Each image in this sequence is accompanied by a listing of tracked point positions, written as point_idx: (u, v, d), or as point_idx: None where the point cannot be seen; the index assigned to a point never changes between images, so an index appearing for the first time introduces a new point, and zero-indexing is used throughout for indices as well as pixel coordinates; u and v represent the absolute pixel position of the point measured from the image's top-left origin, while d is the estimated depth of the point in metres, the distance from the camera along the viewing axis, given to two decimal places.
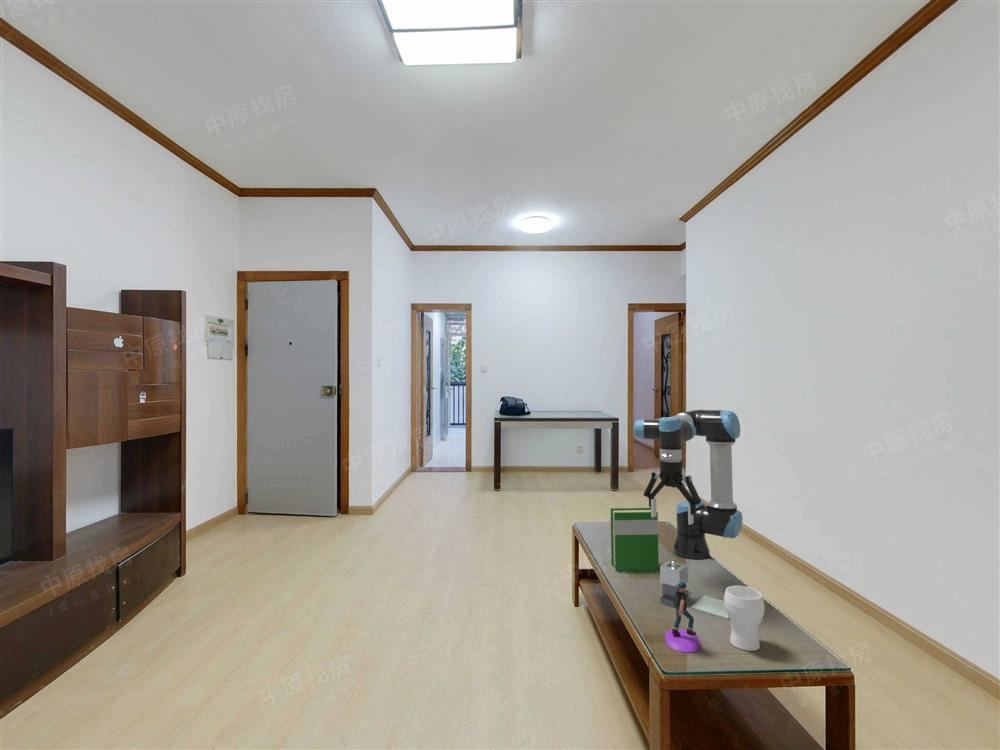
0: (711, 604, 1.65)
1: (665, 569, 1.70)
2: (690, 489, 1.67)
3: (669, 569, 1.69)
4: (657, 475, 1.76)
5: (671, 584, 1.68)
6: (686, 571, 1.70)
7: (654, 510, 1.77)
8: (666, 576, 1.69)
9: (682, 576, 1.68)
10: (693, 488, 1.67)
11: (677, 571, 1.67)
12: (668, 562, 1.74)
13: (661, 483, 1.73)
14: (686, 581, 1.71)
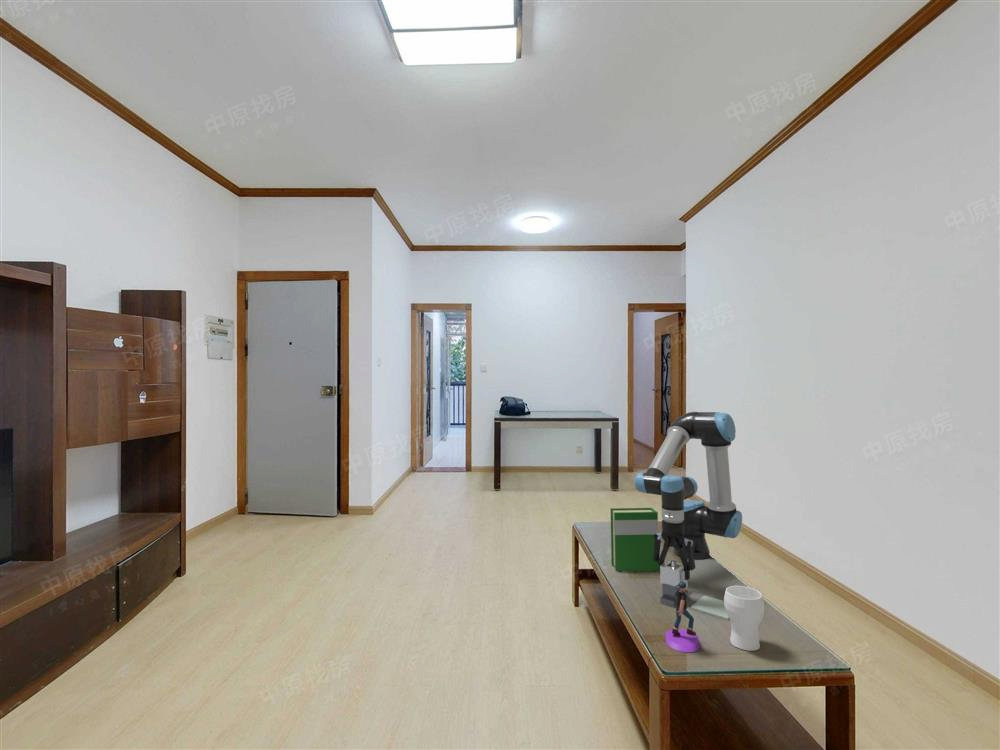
0: (711, 604, 1.65)
1: (665, 569, 1.70)
2: (688, 554, 1.66)
3: (669, 569, 1.69)
4: (659, 536, 1.74)
5: (671, 584, 1.68)
6: None
7: None
8: (666, 576, 1.69)
9: None
10: (692, 554, 1.67)
11: (677, 571, 1.67)
12: (668, 562, 1.74)
13: (665, 544, 1.72)
14: None
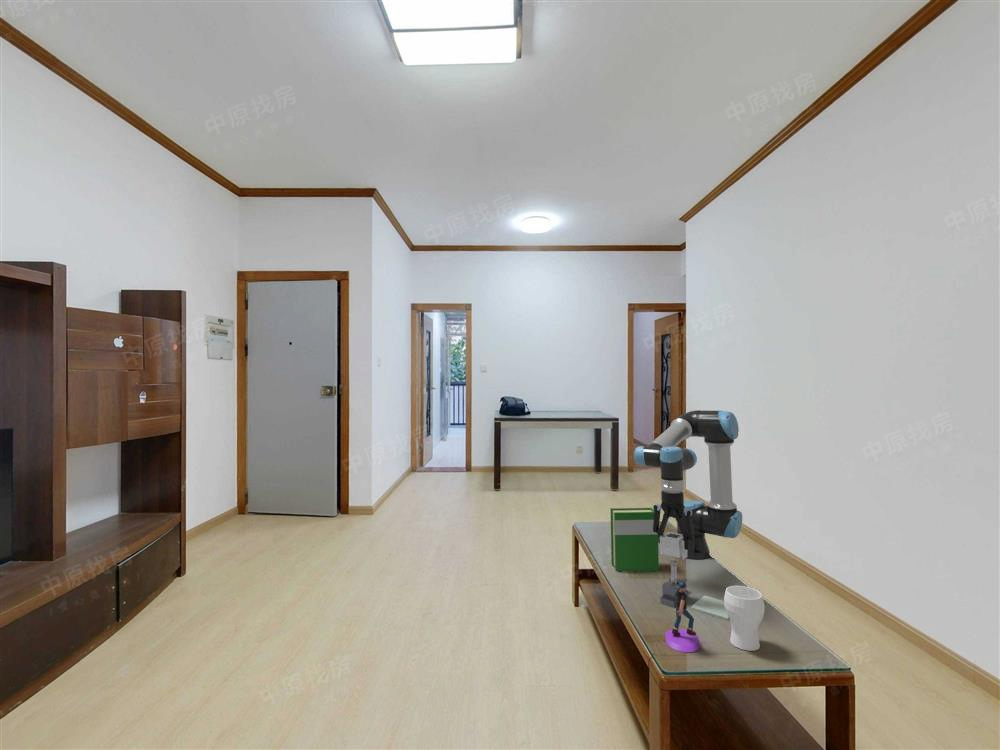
0: (711, 604, 1.65)
1: (665, 539, 1.70)
2: (688, 523, 1.67)
3: (669, 539, 1.69)
4: (659, 507, 1.75)
5: (671, 554, 1.68)
6: None
7: None
8: (666, 546, 1.70)
9: None
10: (691, 523, 1.67)
11: (676, 541, 1.67)
12: (668, 533, 1.75)
13: (665, 515, 1.72)
14: None
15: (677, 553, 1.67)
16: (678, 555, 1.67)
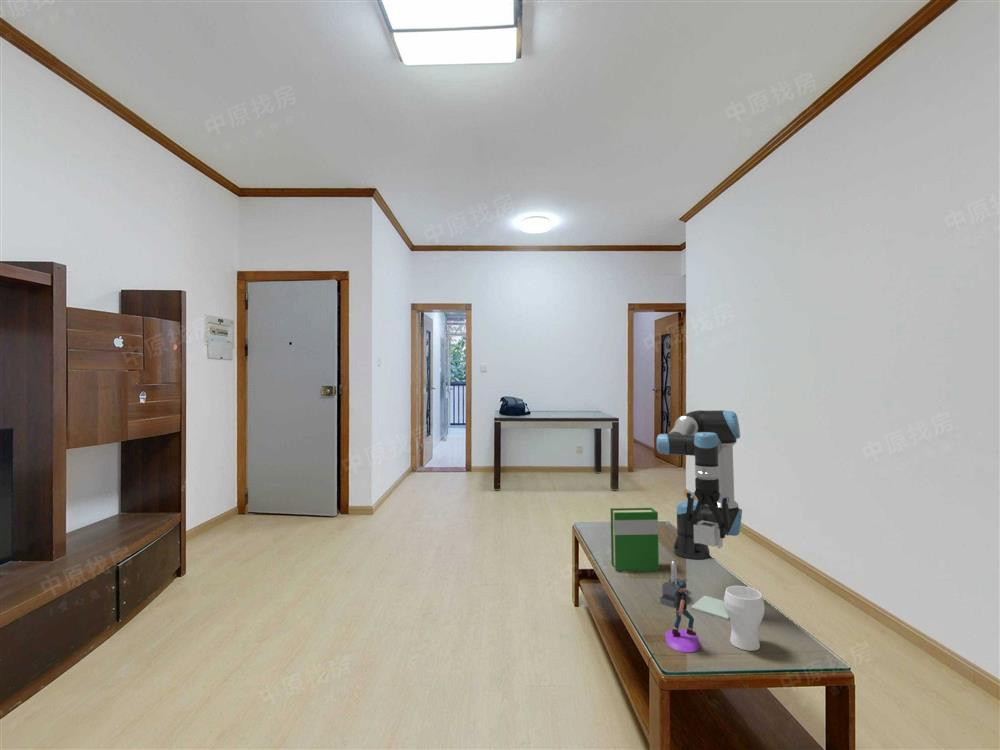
0: (711, 604, 1.65)
1: (699, 527, 1.64)
2: (724, 511, 1.61)
3: (703, 527, 1.63)
4: (692, 494, 1.69)
5: (706, 543, 1.62)
6: None
7: None
8: (700, 535, 1.64)
9: None
10: (727, 511, 1.61)
11: (712, 529, 1.61)
12: (701, 521, 1.69)
13: (699, 503, 1.66)
14: None
15: (712, 542, 1.61)
16: (713, 544, 1.61)
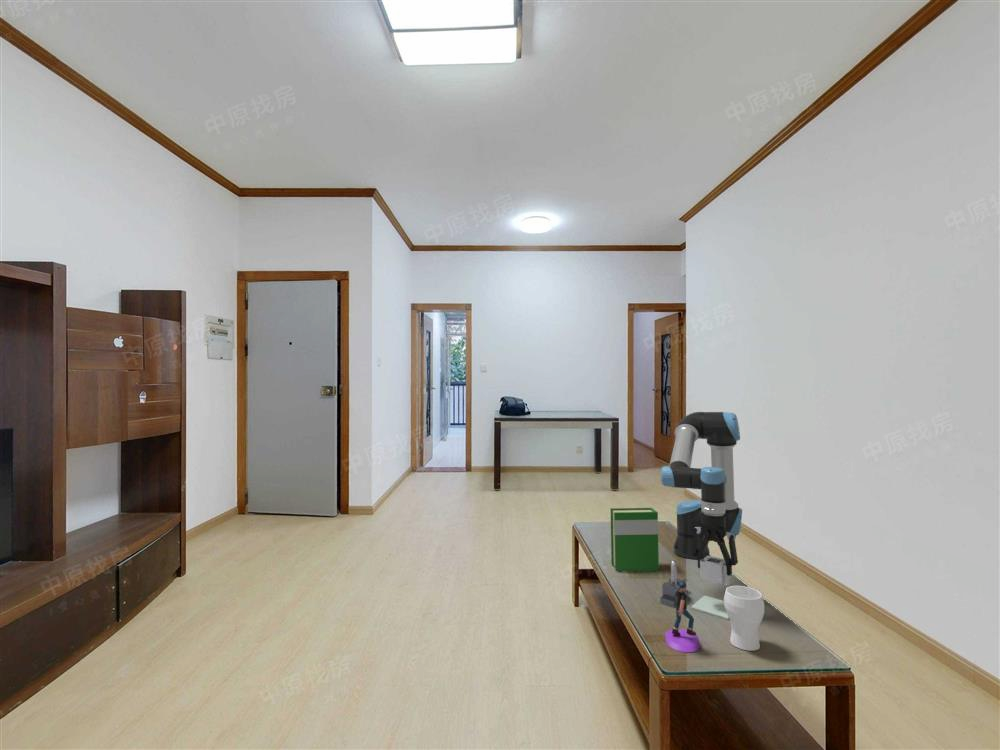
0: (711, 604, 1.65)
1: (706, 564, 1.63)
2: (731, 548, 1.60)
3: (710, 564, 1.62)
4: (699, 530, 1.68)
5: (713, 580, 1.61)
6: None
7: None
8: (707, 571, 1.63)
9: None
10: (734, 548, 1.60)
11: (719, 566, 1.60)
12: (708, 557, 1.67)
13: (705, 539, 1.65)
14: None
15: (719, 579, 1.60)
16: (720, 581, 1.60)
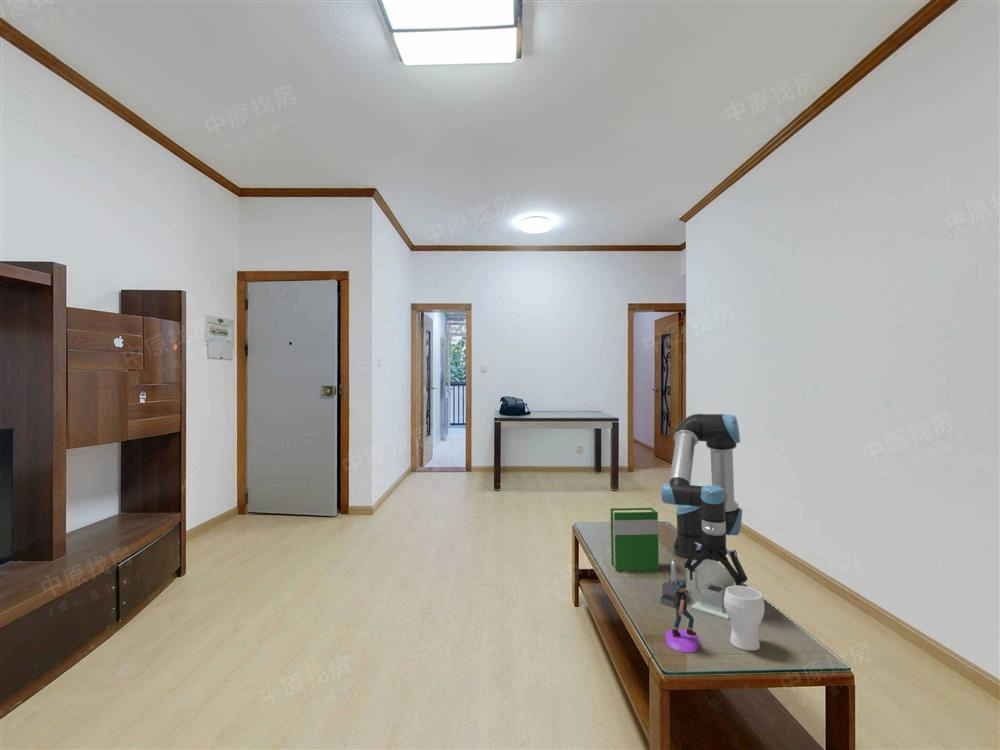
0: None
1: (706, 592, 1.63)
2: (736, 565, 1.59)
3: (711, 592, 1.62)
4: (699, 546, 1.68)
5: (713, 608, 1.61)
6: None
7: (696, 583, 1.68)
8: (707, 600, 1.63)
9: None
10: (739, 564, 1.59)
11: (719, 595, 1.60)
12: (708, 584, 1.67)
13: (703, 556, 1.65)
14: None
15: (720, 608, 1.60)
16: (721, 610, 1.59)
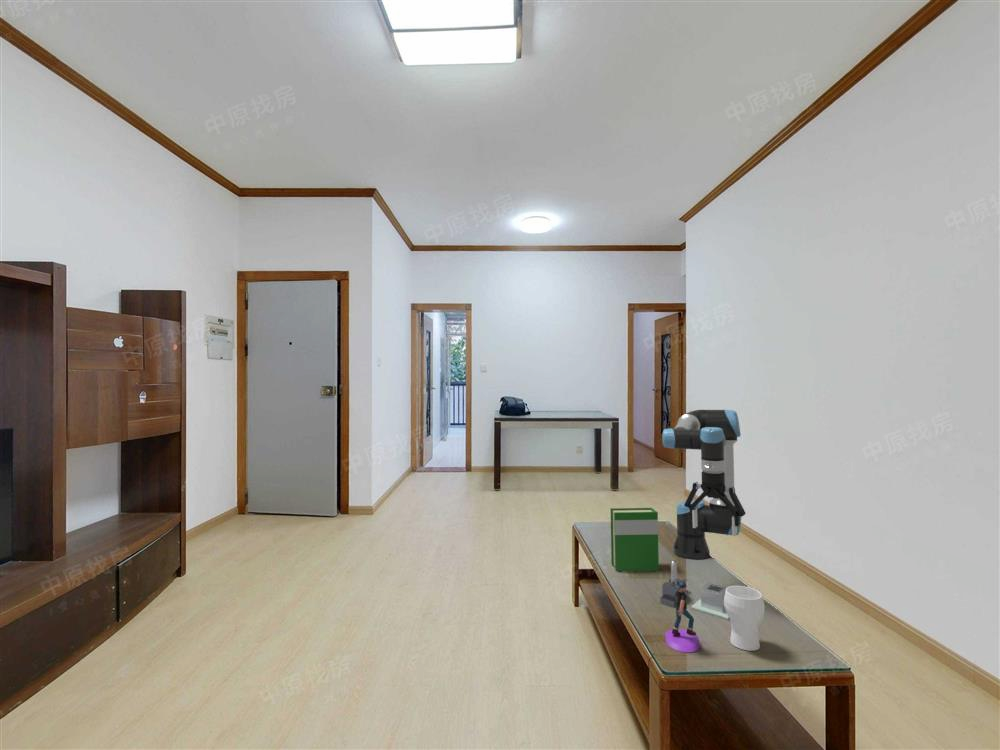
0: None
1: (706, 592, 1.63)
2: (734, 501, 1.65)
3: (711, 592, 1.62)
4: (698, 486, 1.74)
5: (713, 608, 1.61)
6: None
7: (695, 521, 1.75)
8: (707, 600, 1.63)
9: None
10: (737, 500, 1.66)
11: (719, 595, 1.60)
12: (708, 584, 1.67)
13: (703, 494, 1.72)
14: None
15: (720, 608, 1.60)
16: (721, 610, 1.59)
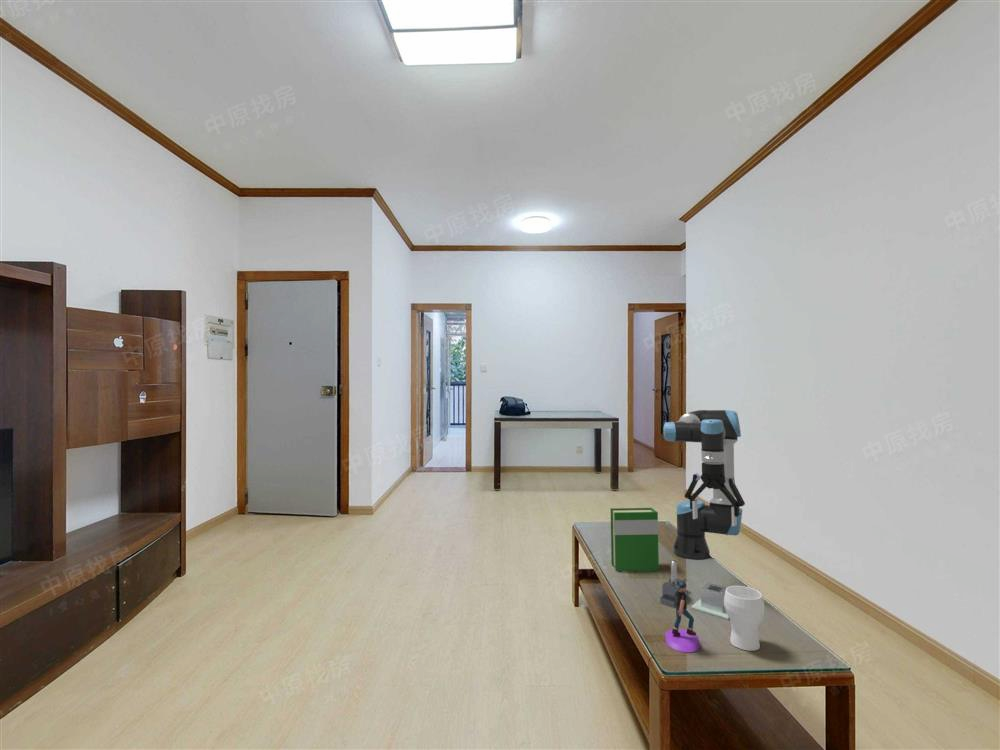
0: None
1: (706, 592, 1.63)
2: (734, 491, 1.68)
3: (711, 592, 1.62)
4: (698, 477, 1.77)
5: (713, 608, 1.61)
6: None
7: (695, 512, 1.78)
8: (707, 600, 1.63)
9: None
10: (737, 490, 1.68)
11: (719, 595, 1.60)
12: (708, 584, 1.67)
13: (703, 485, 1.74)
14: None
15: (720, 608, 1.60)
16: (721, 610, 1.59)
